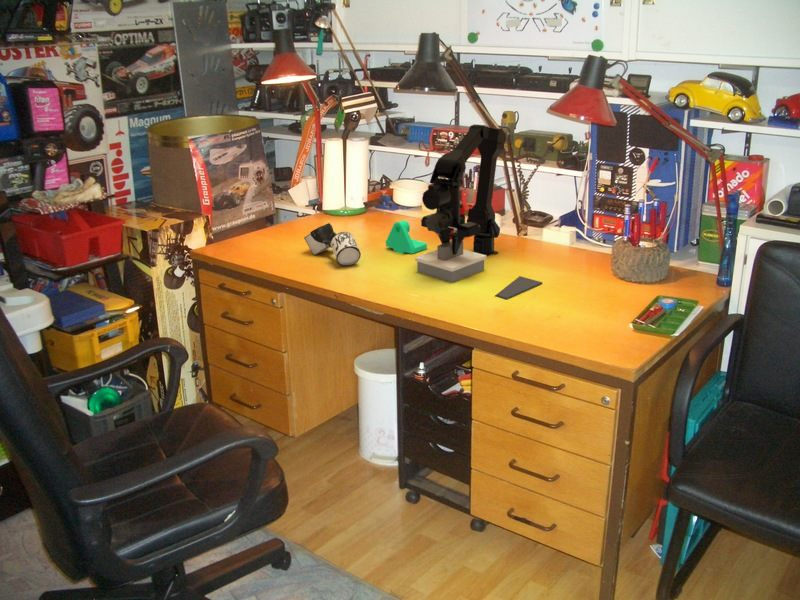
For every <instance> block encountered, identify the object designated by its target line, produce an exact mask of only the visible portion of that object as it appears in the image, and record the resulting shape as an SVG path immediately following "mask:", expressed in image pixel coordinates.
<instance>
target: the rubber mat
mask: <svg viewBox="0 0 800 600" xmlns="http://www.w3.org/2000/svg"><path fill="white" fill-rule="evenodd" d="M541 285H543V282H542V281H539V280H536V279H531V278H529V277H525V276H521V275H519V276H518V277H516V279H514V280H512V282H510V283H509V284H508V285H506V286H505V287H504V288H503V289H501V290H500V291H499V292H498V293H497V294H495V295H494V297H495V298H496V297H497V298H501V299H503V300H507V301H508V300H509V299H511V298H515V297H516V296H518V295H520V294H522V293H525V292H528V291H529V290H533V289H534V288H536V287H538V286H541Z"/></svg>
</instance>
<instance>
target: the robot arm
mask: <svg viewBox="0 0 800 600" xmlns="http://www.w3.org/2000/svg"><path fill="white" fill-rule="evenodd" d="M506 141H507V134H506V132H505V131H504V129H503V128H502V127H501V128H500V127H490V126H487V125H485V124H471V125H470V126H469V128H468V131H467V132H466V134H465V135H463V137H462V138H461V140H460V141H459V143H457V145H456V146H455V147H454V148H453V150H451V151H449V152H447V153H444V154H443V155H442V156H440V157H439V158H438V159H437V161H436V163H435V165H434V168H433V171H432V175H431V177H430V180H429V184H428V185H427V190H425V191H424V192H423V193H422V194H423V195H422V204H423V205H424V207H425V208H427V210H431V211H435V213H430V214H428V215H424V216H423V217H421V219H420V222H421V223H420V225H421V227H423V228H427V231H429V232H434V233H435V234H436V235H437V236H438V238H439V240H440V243H441V244H444V243H447V242H450V241H452V249H453V254H454V255H455V254H457V252H458V249H459V247H460V245H461V243H462V241H463V242H464V239H465V238H471V237H473V242H472V244H473V245H472V246H473V248H472V249H473V251H472V252H475V253H479V254H483V255H487V257H489V256H491V255H497V254H499V251H496V250H495V238H497V239H498V238H499V236H500V232H501V228H500V226H499V225H498V223H497V221H496V213H495V211H494V208H493V206H492V204H493V203H492V202H493V196H494V195H493V194H494V193H493V192H494V186H495V178H496V176H495V175H496V170H497V160H498V157H499V156H500V154H502V153H503V151H504V147H505V144H506ZM476 149H477V150H478V153H479V155H480V164H479V169H478V170H479V171H478V180H477V189H476V195H475V202H474V203H475V204H473V206H472V207H471V208H469V209H468V211H467V218H466V222H465V223H464V224H460V222H463V218H460V208H463V204H464V203H463V204H460V201H461V197H460V196H461V193H460V192H461V185H462V184H463V183H464V181H463V179H462V176H463V175H464V173H465V171H466V170H467V169H466V168H467V167H466V163H467V161H468V160H469V158H470V157H471V155H473V153H474V152H475V151H476ZM451 229H454V233H451ZM450 236H451V238H452V240H451V239H450Z"/></svg>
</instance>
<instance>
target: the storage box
mask: <svg viewBox="0 0 800 600" xmlns="http://www.w3.org/2000/svg"><path fill="white" fill-rule="evenodd" d="M416 262H417V263H416V264H417V273H419V274H422V275H425V276H429V277H432V278H436V279H438V280H442V281H445V282H449V283H452V284H453V283H455V282H458V281H460V280H463V279H465V278H468V277H470V276H473V275H475V274H479V273H481V272H483V271H485V259H484V260H482V261H479V262H476V263H474V264H471V265H469V266H466V267H463V268H461V269H458V270H455V271H453V272H452V271H448V270H445V269H441V268H438V267H435V266H431V265H428V264H424V263H421V262H418V261H416Z"/></svg>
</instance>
